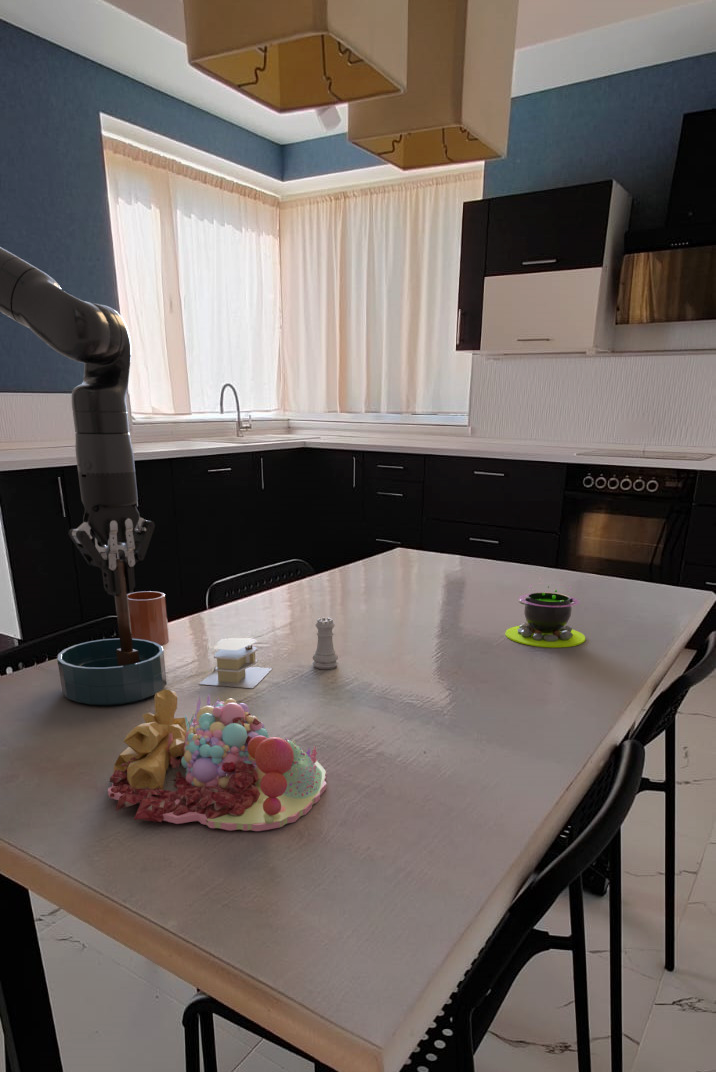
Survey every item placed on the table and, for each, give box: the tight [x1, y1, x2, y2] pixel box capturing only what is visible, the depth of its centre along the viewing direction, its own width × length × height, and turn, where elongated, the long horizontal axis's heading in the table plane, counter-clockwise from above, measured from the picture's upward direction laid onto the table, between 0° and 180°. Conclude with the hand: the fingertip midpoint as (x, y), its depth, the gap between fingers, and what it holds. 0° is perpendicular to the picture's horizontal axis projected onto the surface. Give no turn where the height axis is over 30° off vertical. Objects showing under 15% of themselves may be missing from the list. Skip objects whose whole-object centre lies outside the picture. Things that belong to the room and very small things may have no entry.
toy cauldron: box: [505, 576, 586, 649], centre depth 145 cm, size 15×15×11 cm
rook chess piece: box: [311, 617, 339, 670], centre depth 128 cm, size 4×4×8 cm
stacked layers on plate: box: [198, 637, 273, 689], centre depth 123 cm, size 10×9×6 cm
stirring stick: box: [114, 558, 139, 666], centre depth 114 cm, size 3×2×18 cm, turn 53°
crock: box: [127, 590, 170, 646], centre depth 138 cm, size 7×7×9 cm
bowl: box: [56, 638, 168, 706], centre depth 117 cm, size 15×15×6 cm
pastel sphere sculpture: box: [107, 688, 327, 832], centre depth 88 cm, size 25×24×9 cm
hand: (120, 592), depth 112 cm, fingers closed on stirring stick, 2 cm apart
